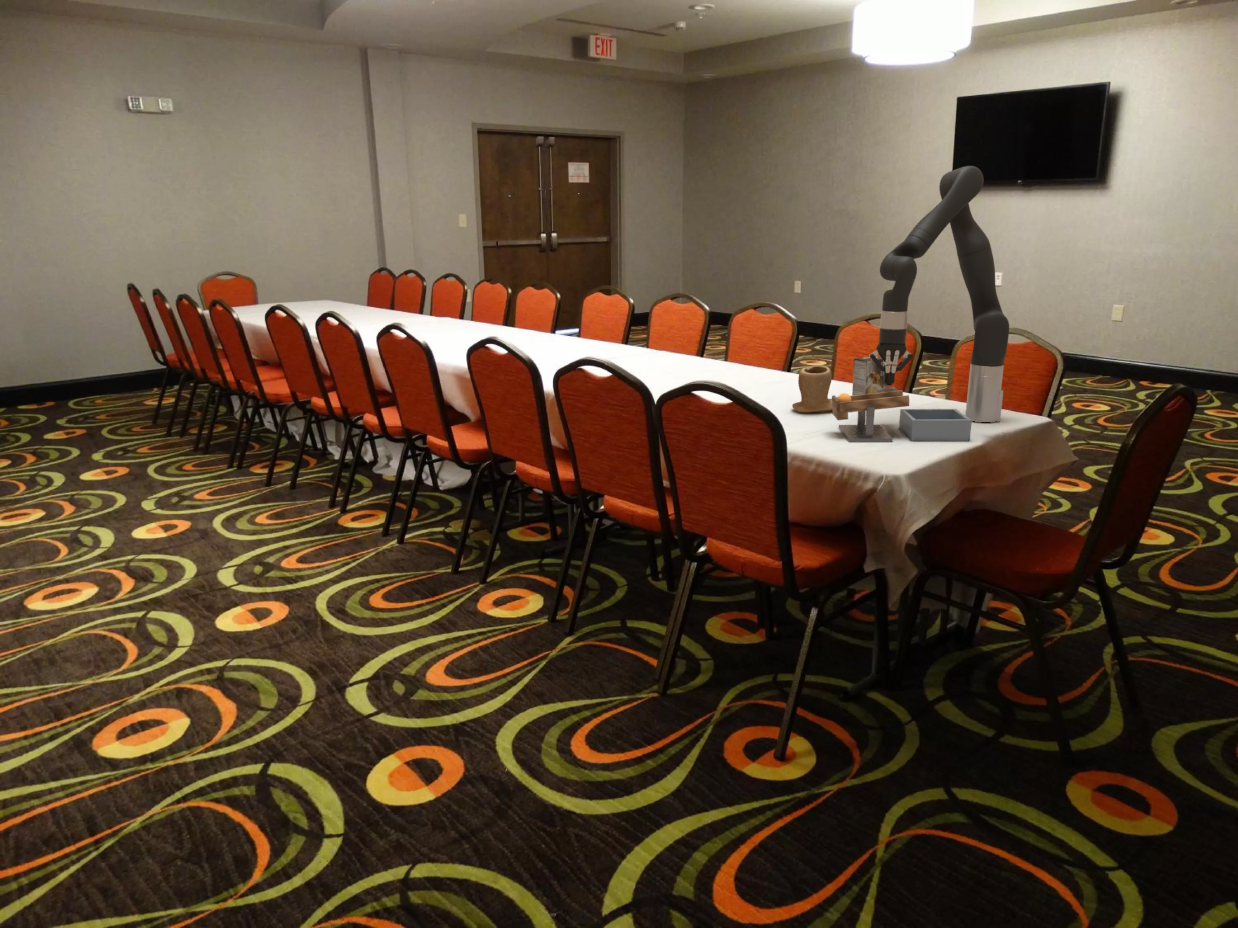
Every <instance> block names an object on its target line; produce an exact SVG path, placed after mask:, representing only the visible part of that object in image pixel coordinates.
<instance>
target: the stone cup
mask: <svg viewBox="0 0 1238 928" xmlns="http://www.w3.org/2000/svg"><path fill="white" fill-rule="evenodd" d="M832 379H833V376H832V371H831V368H829V367H828V366H826V365H820V364H814V365H813V364H812V365H809V366H807V367H803V368H801V369H800V371H799V373H798V379H797V380H798V382H797V383H798V388H799V392H800V396H801V399H800V401H798V402H797V401H796V402H794V403H793V404H792V405H791V407H792V409H793V410H795V411H797V412H800V413H816V412H817V413H819V412H828V411H833V406H832V398H829V396H828V395H829V393H830V392H829V391H830V387H831V384H832Z"/></svg>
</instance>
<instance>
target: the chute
mask: <svg viewBox="0 0 1238 928" xmlns="http://www.w3.org/2000/svg"><path fill="white" fill-rule="evenodd" d="M850 397H851V401H848V402H840V401H839V400H838V399H837V398H838V396H836V395H834V394H833V395H832V396H831V399H832V406H833V410H832V415H833V416H834V418H835V419H836V420H837V421H844V420H849V413H856V412H857V413H858V411H866V409H867V406H874V407H875V410H876V411H877V410H884V409H895V408H896V409H897V408H903V407H905V408H906V407H910V395H908V394H907V395H904V391H903V390H902V389H901V390H899V389H897V388H896V387H895V386H886V388H877V393H872V394H862V395H853V396H852V395H850Z"/></svg>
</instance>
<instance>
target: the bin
mask: <svg viewBox="0 0 1238 928" xmlns="http://www.w3.org/2000/svg"><path fill="white" fill-rule="evenodd" d="M965 415H966V414H965V413H964V414H963V413H962V412H961V411H960V410H959V409H957V408H900V411H899V421H898V429H899V430H900V432H902V434H903V435H905V436H906V437H907V439H909V440H910V442H969V441H968V440H970V441H971V431H972V422H973V421H972V420H971V419H969V418H968V417H967V416H965Z"/></svg>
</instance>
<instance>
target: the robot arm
mask: <svg viewBox="0 0 1238 928" xmlns="http://www.w3.org/2000/svg"><path fill="white" fill-rule="evenodd" d="M984 182H985V181H984V175H983V172H982V170H981V169H980V168H978V167H977V166H974V165H966V166H962V167H959V168H956V169H954V170H951V171H948V172H946V173H945V174H943V175H942V177H941V179H940V181H939V194H940V197H941V198H940V199H941V200H940V202H939V203H937V205H936V206H935V207H934V208H932V209H931V210H930V211H929V212H928V213H927V214H925V215H924V216H923V217H922V219H920V220H919V221H918V222H917V223H916V225H915V226H914V227H913V228H912V229H911V231H910V232H909V233H908V235H907V236H906V238H905V239H904V240H903V241H902V242H900V243H899V244H898V245H897V246H896V247H894V248H893V249H892V250H891V251H890V252H889V253H888V254H886V256H885V257H884V258H883V260H882V261H881V263H880V266H879V274H880V276H881V277H882V278H883V279H884V280H886V281H891V282H894V284H893V287H892V289H888V290H886V291H885V292H884V293H883V298H882V307H881V314H880V320H879V333H878V334H879V335H878V343H877V346H876V348H875V350H874V351H873V352H870V353H869V354H868V357H870V358H871V360H872V361H873V362H874V364H875V365H876V366H877V368H878V369H879V370H880V371H883V372H884V380H883V381H884V383H885V384H886V386H893V384H895V378H896V377H895V376H896V373H897V372H900V371H902V370H903V369H904V368H905V367H906V366H907V365H908V364H909V363H910V362H911V360H912V359H913V358H914V354H913V353H911V352H909V351H908V350H907V346H906V343H907V342H906V340H907V330H908V321H909V320H908V308H909V298H910V294H911V291H912V289H913V286H914V283H915V280H916V277H917V273H918V267H917V265H918V264H917V263H916V261H915V260H916V259H920V258H922V257H923V256H924V255H925V254H926V253H927V252H928V251H929V249H930V248H931V247H932V245H933V244H934V243H935V241H936V240H937V238H938V237H939V236H940V235H941V233H942V232H943V231H944V230H945V228H946V227H947V226H948V225H950V229H951V233H952V237H953V240H954V246H955V249H956V255H957V260H958V264H959V268H960V272H961V275H962V278H963V281H964V284H965V286H966V289H967V292H968V295H969V299H970V303H971V305H970V306H971V310H972V311H971V312H972V319H973V321H972V322H973V330H974V339H973V348H972V353H971V357H970V367H969V377H968V384H967V385H968V387H967V397H966V405H965V414H964V415H965V416H967V417H968V418H969V419H971V420H972V422H973V421H975V422H974V423H981V422H991V423H995V421H997V422H1001V415H1002V407H1003V397H1004V390H1002V384H1003V383H1002V382H1003V375H1004V368H1005V367H1004V366H1005V365H1004V364H1005V359H1006V356H1007V352H1008V351H1007V348H1008V344H1009V343H1008V342H1009V335H1010V322H1009V320H1008V318H1007V317H1006V315H1005V314H1004V313H1003V309H1002V307H1001V303H1000V301H999V297H998V293H997V286H996V269H995V261H994V255H993V250H992V246H991V243H990V242H991V241H990V240H989V238H988V236H987V235H986V233H985V232H984V231H983V229H982V228H981V227H980V226H979V224H978V223H977V221H976V220H975V219H974V217H973V214H972V212H971V207H970V202H972V200H974V198H976V197H977V196H978V195H979V193H980V192H981V191H982V188H983V187H984ZM878 357H881V358H882V359H883V363H884V367H883V366H882V365H881V364H880V362H879V361H878V360H877V358H878ZM901 358H902V360H901V361H900V359H901ZM898 361H900V362H898Z"/></svg>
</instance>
